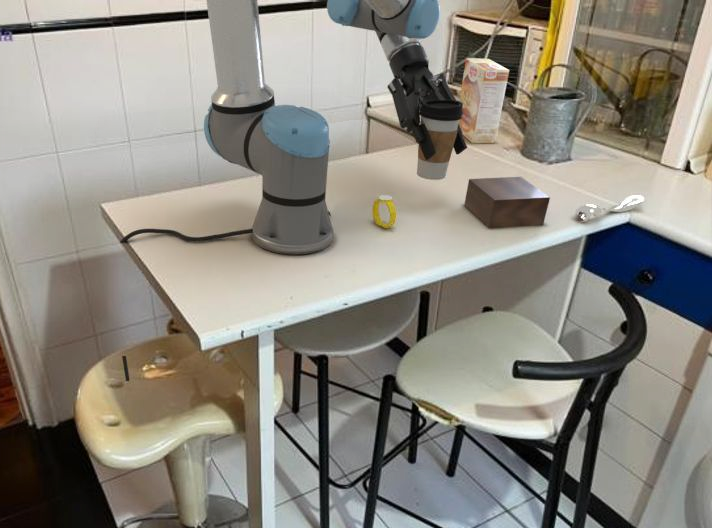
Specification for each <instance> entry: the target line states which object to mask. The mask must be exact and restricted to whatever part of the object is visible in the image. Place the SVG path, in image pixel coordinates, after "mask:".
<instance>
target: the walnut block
mask: <svg viewBox="0 0 712 528" xmlns="http://www.w3.org/2000/svg"><path fill="white" fill-rule="evenodd" d="M550 200H551V197H550V196H549V195H548V194H546V193H544V192H543V191H542V190H540V189H539V188H537V187H536V186H535V185H533V184H532V183H530V182H529V181H528V180H527V179H525V178H524V177H523V176H507V177H482V178H469V179H468V182H467V188H466V193H465V199H464V204H463V206H464V207H465V208H466V209H467V210H468V211H469V212H471V213H472V214H473V215H474V216H475V217H476V218H477V219H478V220H479V221H481V222H482V223H483V225H485V226H486V227H487V228H488V229H497V228H498V229H500V228H516V227H533V226H544V224H545V220H546V216H547V212H548V208H549V204H550Z"/></svg>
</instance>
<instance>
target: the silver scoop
mask: <svg viewBox="0 0 712 528" xmlns="http://www.w3.org/2000/svg"><path fill="white" fill-rule="evenodd" d="M633 199H636V201H635V200H634V201H633V202H632V200H633ZM644 201H645V198H644V197H643V196H642V195H631V196H629V197H626V198H625V199H623V201H622V202H620V203H619V204H618V205H616V206H615V207H613V208H607V207H602V206H599V205H597V204H592V203H586V204H582V205H580V206H579V207H578V208H576V209H575V212H574V218H575V220H576V221H578V222H581V223H582V222H587V221H590V220H592V219H594V218H596V217H598V216H599V215H601V214H602V213H603V211H607V212H608V211H609V212H615V213H622V212H628V211H630V210H633V209H635V208H637V207H639V206H641V205H642V204H643V203H644Z"/></svg>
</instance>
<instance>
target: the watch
mask: <svg viewBox="0 0 712 528" xmlns="http://www.w3.org/2000/svg"><path fill="white" fill-rule="evenodd" d="M381 203H382V204H386V206H387V209H388V212H389V220H388V223H385V222H383V221H382V219H381V217H380V213H379V206H380V204H381ZM371 214H372V218H373V220H374V223H375V224H376V225H378V226H380V227H382V228H384V229H389V228H392V227H393V226H394V225H395V222H396V220H397V209H396V206H395V204H394V203H393V197H392V196H390V195H386V194H385V195H384V194H382V195H378V196H377V199H375V201H373V204H372V208H371Z"/></svg>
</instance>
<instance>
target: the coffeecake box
mask: <svg viewBox="0 0 712 528" xmlns="http://www.w3.org/2000/svg"><path fill="white" fill-rule="evenodd" d="M509 74H510V69H508V68H507V67H504V66H502V65H501V64H499V63H497V62H495V61H494V60H492V59H490V58H477V57H476V58H475V57H467V58H465V62H464V69H463V76H462V81H461V89H460V93H459V94H460V95H459V100H458V101H460V102H462V103H463V109H462V111H463V115H462V118H461V119H460V120H459V125H460V128H461V130H462V133H463V134H462V136H463V137H465V138H466V139H467V140H468V141H469V142H470V143H471V144H496V143H497V136H498V131H499V125H500V121H501V115H502V110H503V104H504V100H505V94H506V89H507V85H508V80H509V79H508V78H509Z"/></svg>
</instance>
